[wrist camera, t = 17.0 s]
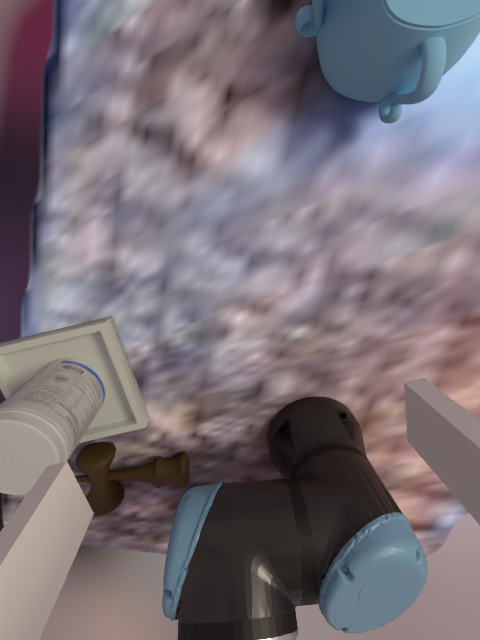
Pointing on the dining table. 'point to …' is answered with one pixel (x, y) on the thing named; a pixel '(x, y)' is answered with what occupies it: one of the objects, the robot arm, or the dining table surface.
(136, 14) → the dining table surface
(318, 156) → the dining table surface
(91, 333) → the sage tray
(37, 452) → the supplement tub
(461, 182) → the dining table surface
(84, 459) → the kendama
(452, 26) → the decorative pot
